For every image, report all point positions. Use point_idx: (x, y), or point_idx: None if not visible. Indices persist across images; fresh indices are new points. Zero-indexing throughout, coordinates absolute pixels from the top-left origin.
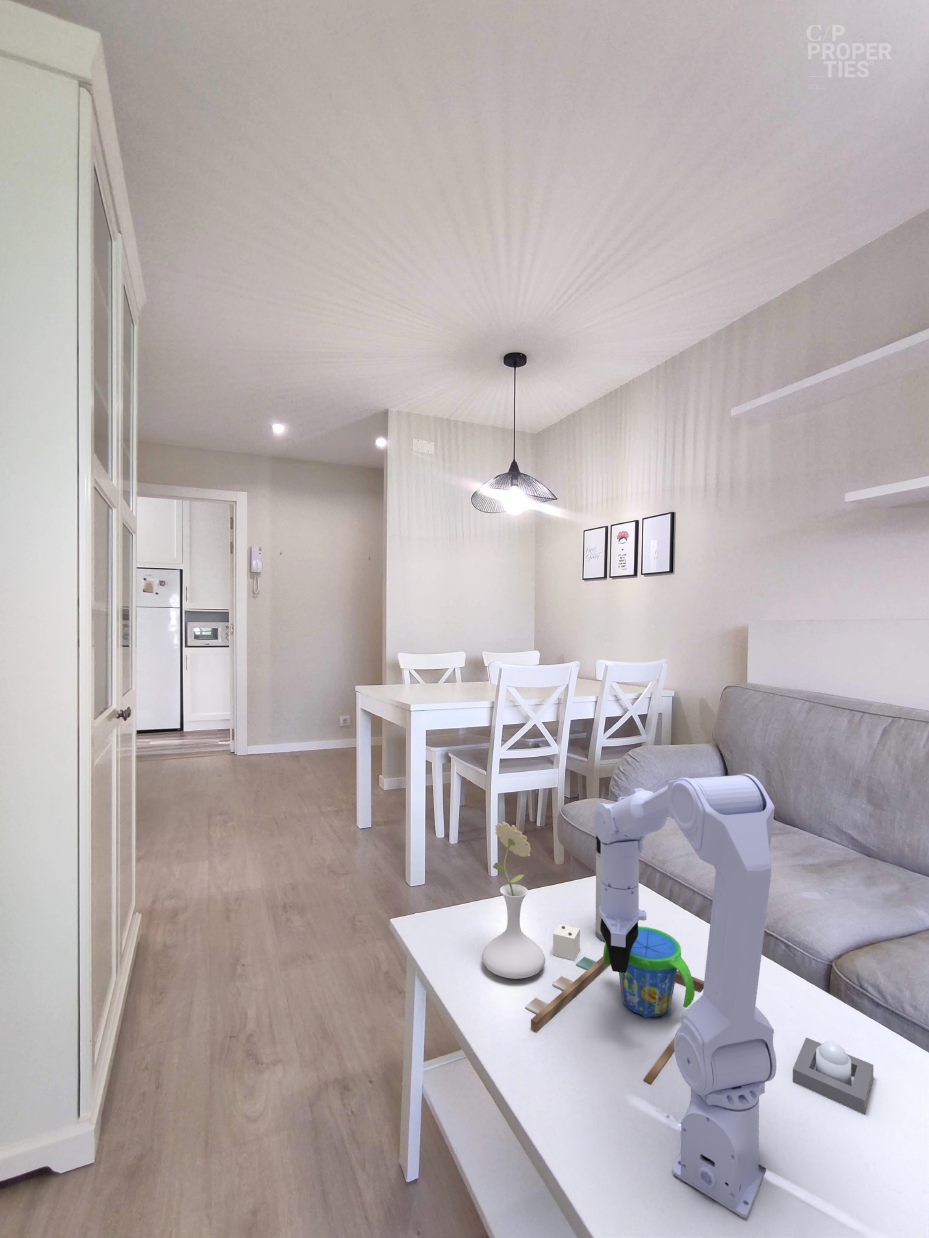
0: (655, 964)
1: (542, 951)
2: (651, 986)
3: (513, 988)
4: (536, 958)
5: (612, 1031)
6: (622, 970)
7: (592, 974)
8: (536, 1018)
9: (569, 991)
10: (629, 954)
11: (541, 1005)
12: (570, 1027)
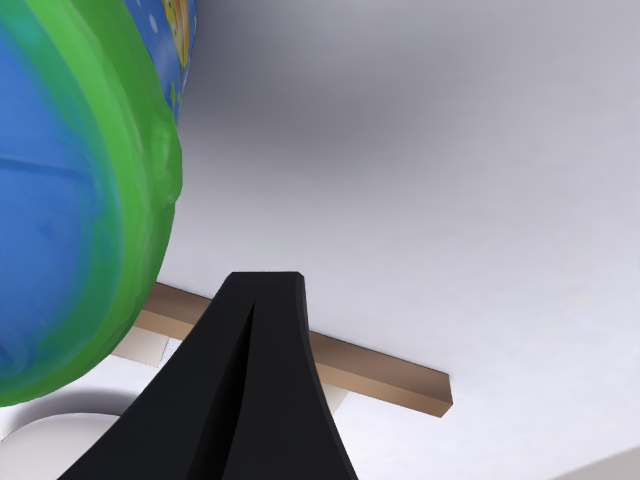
0: (125, 52)
1: (30, 445)
2: (162, 8)
3: None
4: None
5: (363, 141)
6: (304, 304)
7: None
8: (431, 406)
9: None
10: (327, 403)
11: None
12: (388, 289)
